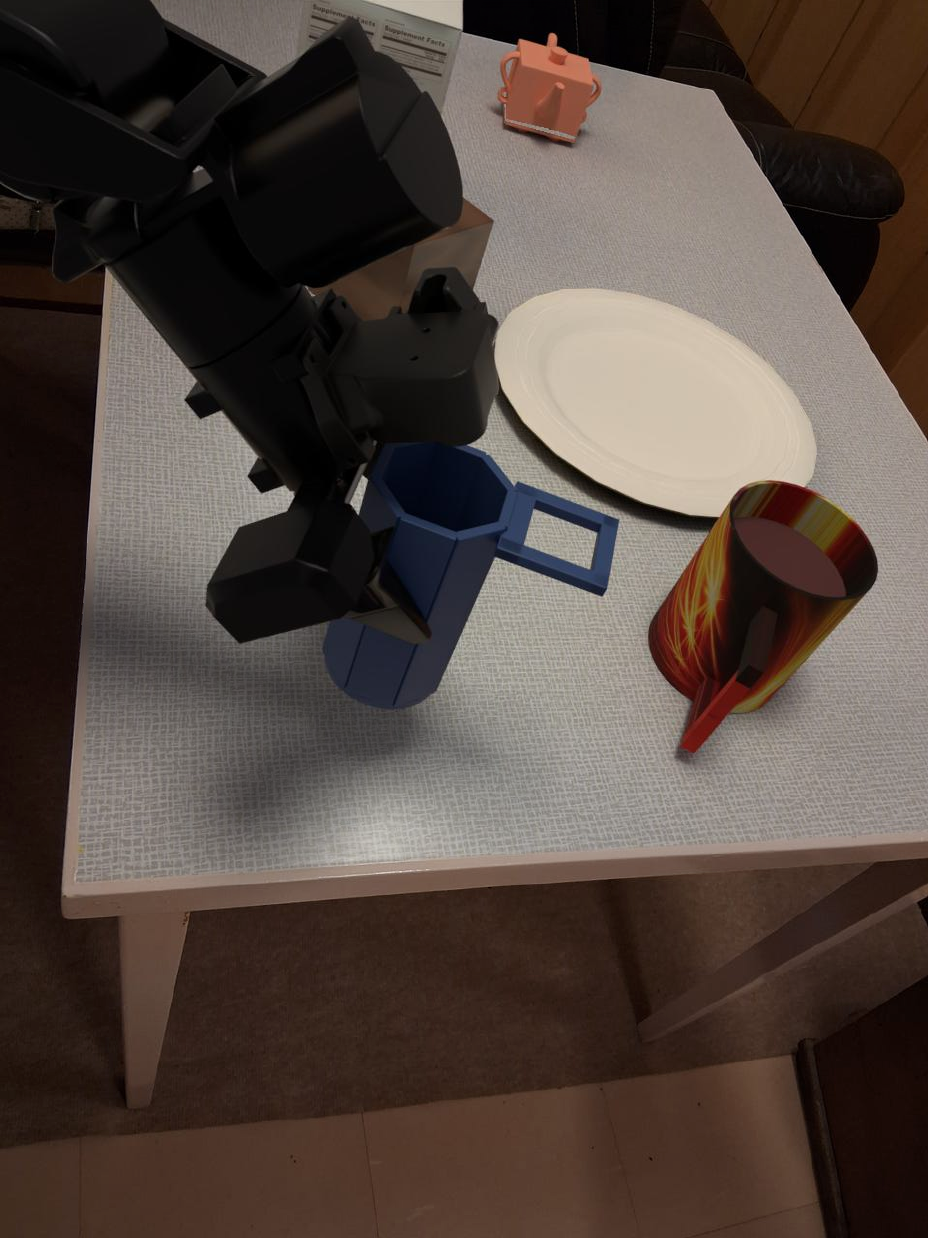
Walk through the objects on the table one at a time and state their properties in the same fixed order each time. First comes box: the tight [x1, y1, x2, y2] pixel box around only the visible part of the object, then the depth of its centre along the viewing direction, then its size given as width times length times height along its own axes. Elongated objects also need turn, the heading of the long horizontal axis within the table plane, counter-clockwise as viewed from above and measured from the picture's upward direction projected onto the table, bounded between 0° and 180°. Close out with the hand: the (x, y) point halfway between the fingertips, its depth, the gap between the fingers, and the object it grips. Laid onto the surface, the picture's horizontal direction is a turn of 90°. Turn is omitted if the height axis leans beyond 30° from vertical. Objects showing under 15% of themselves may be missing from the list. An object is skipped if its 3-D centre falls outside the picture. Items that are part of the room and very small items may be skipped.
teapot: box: [496, 32, 602, 144], centre depth 109 cm, size 12×15×8 cm
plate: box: [493, 287, 818, 520], centre depth 82 cm, size 29×29×2 cm
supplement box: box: [295, 0, 464, 116], centre depth 87 cm, size 13×13×18 cm
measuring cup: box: [321, 442, 620, 711], centre depth 47 cm, size 11×6×13 cm, turn 76°
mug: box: [647, 480, 879, 755], centre depth 60 cm, size 10×14×12 cm
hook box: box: [307, 196, 495, 321], centre depth 75 cm, size 13×10×16 cm
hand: (439, 589), depth 47 cm, fingers closed on measuring cup, 6 cm apart
